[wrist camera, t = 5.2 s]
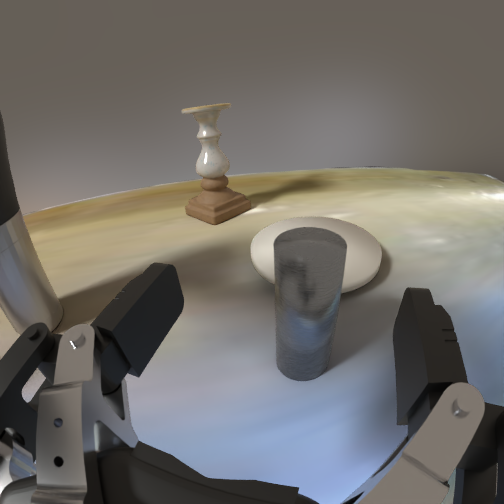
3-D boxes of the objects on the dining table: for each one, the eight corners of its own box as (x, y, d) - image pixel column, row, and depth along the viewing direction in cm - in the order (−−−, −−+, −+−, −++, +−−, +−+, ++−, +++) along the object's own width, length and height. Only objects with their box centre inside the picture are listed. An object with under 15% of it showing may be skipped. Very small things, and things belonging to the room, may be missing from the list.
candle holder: (214, 225, 57) (200, 106, 44) (185, 214, 64) (169, 111, 51) (252, 208, 63) (244, 101, 51) (220, 199, 70) (210, 104, 58)
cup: (280, 384, 25) (279, 268, 18) (273, 344, 30) (269, 230, 23) (333, 375, 26) (358, 259, 18) (321, 337, 30) (333, 224, 23)
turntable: (257, 303, 34) (256, 294, 33) (247, 229, 51) (246, 221, 50) (402, 283, 34) (405, 274, 33) (352, 220, 51) (352, 213, 51)
